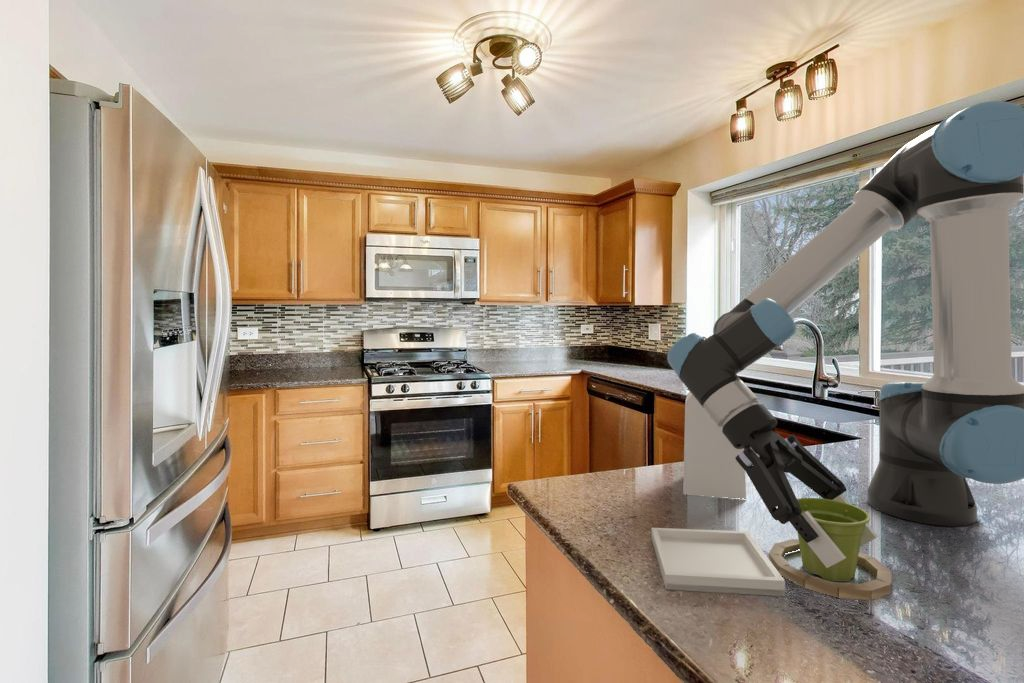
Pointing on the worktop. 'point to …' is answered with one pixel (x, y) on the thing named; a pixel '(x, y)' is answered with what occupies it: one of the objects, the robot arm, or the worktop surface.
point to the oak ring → (840, 590)
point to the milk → (709, 456)
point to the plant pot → (834, 536)
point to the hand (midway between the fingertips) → (853, 551)
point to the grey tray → (715, 562)
